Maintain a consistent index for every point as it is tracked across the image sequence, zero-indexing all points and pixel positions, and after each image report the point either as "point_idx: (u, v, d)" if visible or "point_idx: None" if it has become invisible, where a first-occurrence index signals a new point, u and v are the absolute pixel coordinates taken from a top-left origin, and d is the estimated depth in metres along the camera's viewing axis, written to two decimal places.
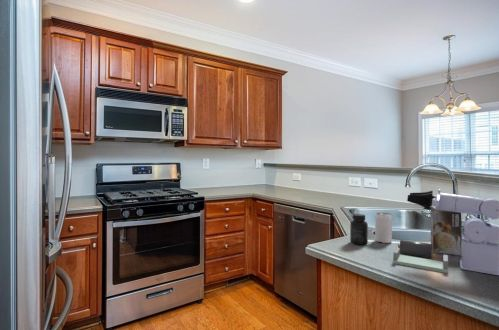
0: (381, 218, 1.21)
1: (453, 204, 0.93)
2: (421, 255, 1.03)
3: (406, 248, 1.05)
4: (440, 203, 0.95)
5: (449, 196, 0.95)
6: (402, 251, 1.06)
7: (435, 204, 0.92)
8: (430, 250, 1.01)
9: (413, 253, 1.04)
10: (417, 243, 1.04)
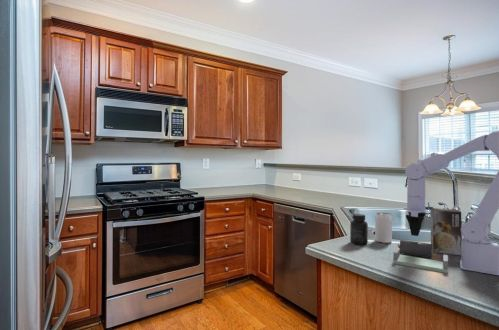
0: (381, 218, 1.21)
1: (415, 198, 1.03)
2: (421, 255, 1.03)
3: (406, 248, 1.05)
4: (416, 208, 1.02)
5: (408, 200, 1.05)
6: (402, 251, 1.06)
7: (415, 213, 0.99)
8: (430, 250, 1.01)
9: (413, 253, 1.04)
10: (417, 243, 1.04)
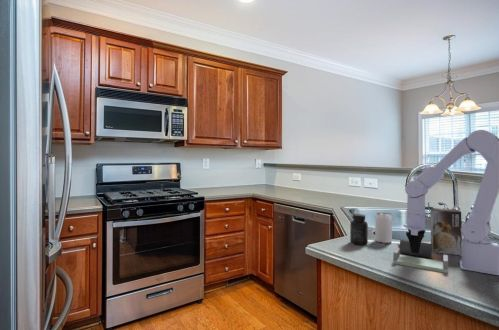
0: (381, 218, 1.21)
1: (415, 216, 1.03)
2: (421, 255, 1.03)
3: (406, 247, 1.05)
4: (416, 226, 1.03)
5: (408, 218, 1.05)
6: (402, 251, 1.06)
7: (415, 232, 0.99)
8: (430, 250, 1.01)
9: (413, 253, 1.04)
10: None
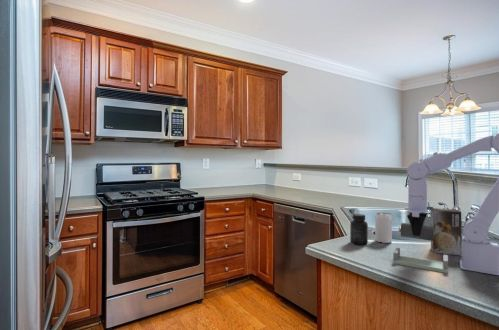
0: (381, 218, 1.21)
1: (416, 198, 1.00)
2: (422, 238, 1.00)
3: (407, 231, 1.03)
4: (418, 208, 1.00)
5: (409, 200, 1.03)
6: (403, 234, 1.04)
7: (416, 214, 0.97)
8: (432, 232, 0.98)
9: (414, 236, 1.02)
10: None
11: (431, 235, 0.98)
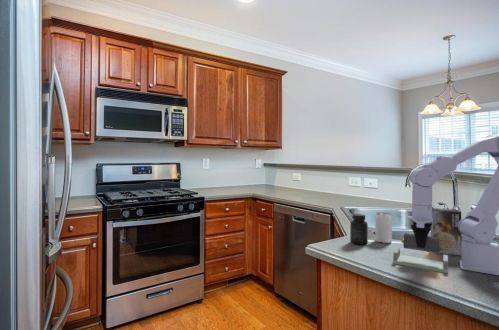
0: (381, 218, 1.21)
1: (421, 207, 0.93)
2: (427, 250, 0.93)
3: (410, 242, 0.95)
4: (422, 218, 0.93)
5: (413, 209, 0.95)
6: (406, 246, 0.96)
7: (421, 224, 0.89)
8: (437, 244, 0.91)
9: (418, 248, 0.94)
10: None
11: (437, 247, 0.91)
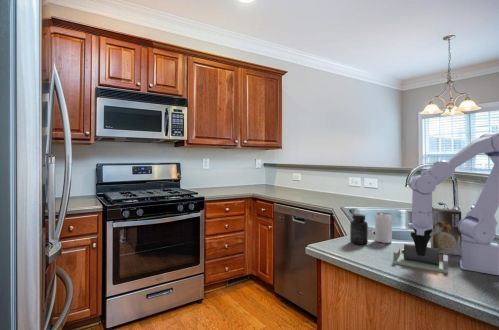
0: (381, 218, 1.21)
1: (421, 214, 0.93)
2: (427, 261, 0.93)
3: (410, 253, 0.95)
4: (422, 225, 0.93)
5: (413, 216, 0.95)
6: (406, 257, 0.96)
7: (421, 232, 0.89)
8: (438, 256, 0.91)
9: (419, 259, 0.94)
10: None
11: (437, 259, 0.91)
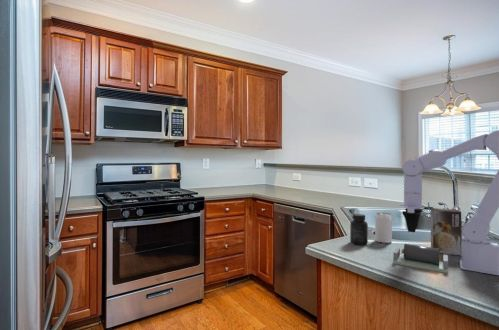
0: (381, 218, 1.21)
1: (412, 195, 1.02)
2: (427, 260, 0.93)
3: (410, 252, 0.96)
4: (413, 204, 1.02)
5: (405, 197, 1.05)
6: (406, 256, 0.96)
7: (412, 210, 0.99)
8: (438, 255, 0.92)
9: (419, 258, 0.94)
10: (423, 247, 0.95)
11: (437, 258, 0.91)
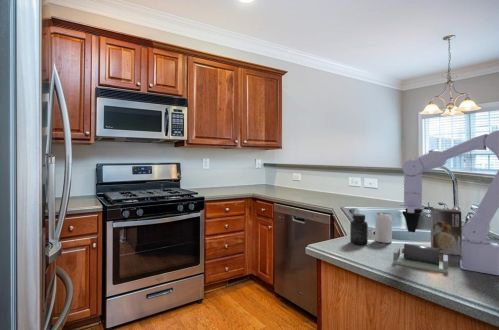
0: (381, 218, 1.21)
1: (412, 195, 1.02)
2: (427, 260, 0.93)
3: (410, 251, 0.96)
4: (413, 204, 1.02)
5: (405, 197, 1.05)
6: (406, 255, 0.96)
7: (412, 210, 0.99)
8: (438, 254, 0.92)
9: (419, 257, 0.95)
10: (423, 247, 0.95)
11: (437, 257, 0.92)
